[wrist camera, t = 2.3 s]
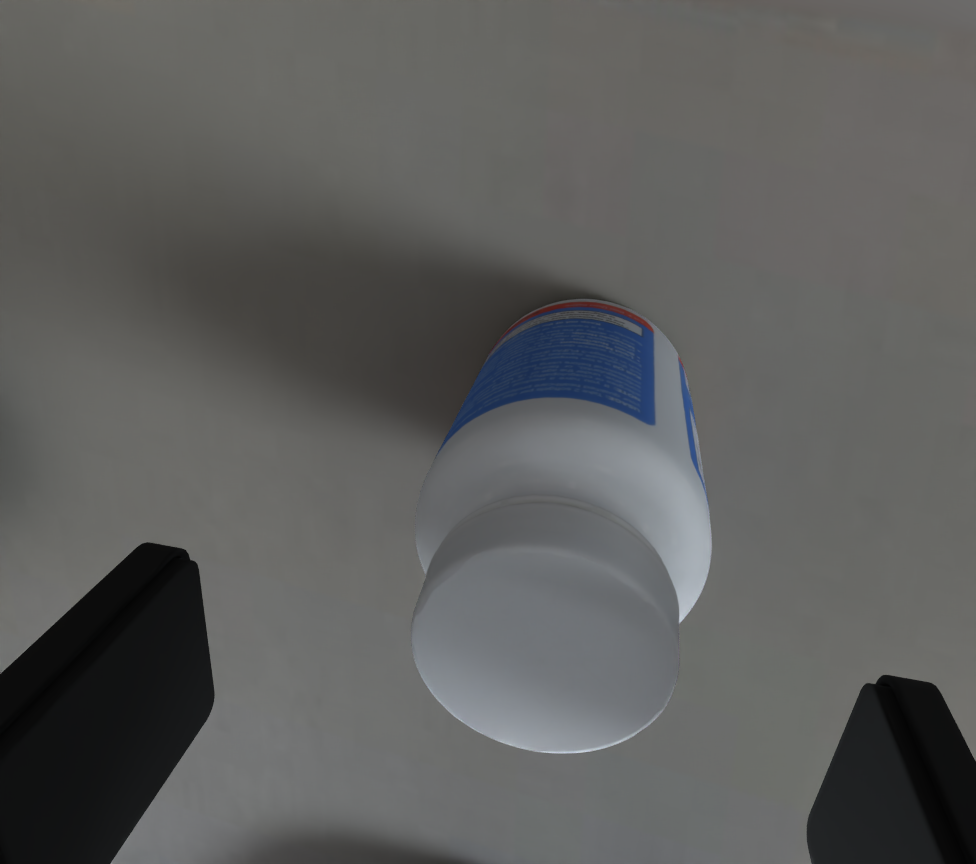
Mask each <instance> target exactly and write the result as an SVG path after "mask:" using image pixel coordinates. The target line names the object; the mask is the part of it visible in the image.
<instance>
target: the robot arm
mask: <svg viewBox="0 0 976 864" xmlns="http://www.w3.org/2000/svg"><path fill="white" fill-rule="evenodd" d="M213 703H214V685H213V677H212V669H211V661H210V653H209V646H208V638H207V630H206V622H205V614H204V607H203V599H202V591H201V583H200V575H199V568H198V565H197V563H196V562H195V561H192V560H190V558H189V554H188V553H187V551H186V550H184V549H182V548H177V547H171V546H165V545H160V544H154V543H149V542H147V543H142V544H141V545H140V546H138V547H137V548H136V549H135V550H134V551H132V552H131V553H130V554H129V555H128V556H127V557H126V558H125V559H124V560H123V561H122V562H121V563H120V564H118V565H117V566H116V567H115V568H114V569H113V570H112V571H111V572H110V573H109V574H108V575H107V576H106V577H104V578H103V579H102V580H101V581H100V582H99V583H98V584H97V585H96V586H95V587H94V588H93V589H92V590H90V591H89V592H88V593H87V594H86V595H85V596H84V597H83V598H82V599H81V600H80V601H79V602H78V603H76V604H75V605H74V606H73V607H72V608H71V609H70V610H69V611H68V612H67V613H66V614H65V615H64V616H62V617H61V618H60V619H59V620H58V621H57V622H56V623H55V624H54V625H53V626H52V627H51V628H50V629H48V630H47V631H46V632H45V633H44V634H43V635H42V636H41V637H40V638H39V639H38V640H37V641H36V642H34V643H33V644H32V645H31V646H30V647H29V648H28V649H27V650H26V651H25V652H24V653H23V654H22V655H20V656H19V657H18V658H17V659H16V660H15V661H14V662H13V663H12V664H11V665H10V666H9V667H8V668H6V669H5V670H4V671H3V672H2V673H1V674H0V864H110V863H111V861H112V860H113V859H114V857H115V856H116V854H117V853H118V851H119V850H120V848H121V847H122V845H123V844H124V842H125V841H126V839H127V838H128V836H129V835H130V833H131V832H132V830H133V829H134V827H135V826H136V824H137V823H138V821H139V820H140V818H141V817H142V815H143V814H144V812H145V811H146V809H147V808H148V807H149V805H150V804H151V802H152V801H153V799H154V798H155V796H156V795H157V793H158V792H159V790H160V789H161V787H162V786H163V784H164V783H165V781H166V780H167V778H168V777H169V775H170V774H171V772H172V771H173V769H174V768H175V766H176V765H177V763H178V762H179V760H180V759H181V757H182V756H183V755H184V753H185V752H186V750H187V749H188V747H189V746H190V744H191V743H192V741H193V740H194V738H195V737H196V735H197V734H198V732H199V731H200V729H201V728H202V726H203V725H204V723H205V722H206V720H207V718H208V717H209V715H210V712H211V710H212V707H213ZM807 844H808V849H809V854H810V858H811V862H812V864H976V761H975V760H974V758H973V756H972V754H971V752H970V750H969V748H968V746H967V744H966V742H965V740H964V738H963V736H962V734H961V732H960V730H959V728H958V726H957V724H956V722H955V720H954V718H953V716H952V714H951V712H950V710H949V708H948V706H947V704H946V702H945V700H944V698H943V696H942V694H941V693H940V691H939V690H938V688H937V687H936V686H935V685H934V684H932V683H929V682H924V681H918V680H913V679H907V678H901V677H896V676H890V675H883V676H881V677H880V678H879V679H878V681H877V682H876V684H870V683H866V684H865V685H864V686H863V687H862V689H861V691H860V693H859V696H858V698H857V701H856V703H855V706H854V708H853V710H852V713H851V715H850V718H849V720H848V722H847V725H846V727H845V730H844V732H843V734H842V737H841V739H840V742H839V744H838V747H837V749H836V751H835V754H834V756H833V759H832V761H831V763H830V766H829V768H828V771H827V773H826V775H825V778H824V780H823V783H822V785H821V788H820V790H819V792H818V795H817V797H816V800H815V802H814V804H813V807H812V809H811V812H810V814H809V817H808V822H807Z"/></svg>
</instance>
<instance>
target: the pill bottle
mask: <svg viewBox="0 0 976 864" xmlns="http://www.w3.org/2000/svg"><path fill="white" fill-rule="evenodd" d="M415 537H416V546H417V551H418V556H419V559H420V562H421V565H422V567H423V570H424V572H425V575H426V578H425V582H424V585H423V587H422V590H421V593H420V595H419V598H418V601H417V604H416V607H415V609H414V613H413V618H412V624H411V646H412V651H413V656H414V660H415V663H416V666H417V668H418V671H419V673H420V675H421V677H422V679H423V681H424V682H425V684H426V685H427V687H428V689H429V690H430V691H431V692H432V694H433V695H434V696H435V697H436V699H437V700H438V701H439V702H440V703H441V704H442V705H443V706H444V707H445V708H446V709H447V710H448V711H449V712H450V713H451V714H452V715H453V716H454V717H456V718H457V719H459V720H460V721H462V722H463V723H465V724H466V725H468V726H469V727H471V728H472V729H474V730H476V731H477V732H479V733H481V734H483V735H485V736H488V737H490V738H492V739H494V740H496V741H499V742H502V743H505V744H507V745H511V746H514V747H518V748H522V749H526V750H531V751H537V752H545V753H567V754H568V753H581V752H588V751H594V750H599V749H603V748H606V747H609V746H612V745H615V744H618V743H620V742H623V741H625V740H627V739H629V738H631V737H633V736H635V735H636V734H637V733H638V732H640V731H641V730H643V729H644V728H646V727H647V726H649V725H650V724H651V723H652V722H653V721H654V720H655V719H656V718H657V717H658V716H659V715H660V714H661V712H662V711H663V710H664V708H665V707H666V705H667V704H668V702H669V700H670V698H671V696H672V693H673V690H674V688H675V685H676V681H677V678H678V672H679V623H680V622H681V621H682V620H683V619H684V618H685V617H686V615H687V614H688V613H689V611H690V610H691V609H692V607H693V606H694V604H695V603H696V601H697V599H698V597H699V596H700V594H701V592H702V589H703V587H704V584H705V582H706V579H707V575H708V571H709V567H710V561H711V551H712V538H711V526H710V515H709V506H708V500H707V494H706V487H705V481H704V476H703V469H702V462H701V455H700V449H699V442H698V435H697V430H696V424H695V417H694V411H693V404H692V398H691V393H690V388H689V384H688V379H687V375H686V372H685V369H684V367H683V364H682V362H681V359H680V357H679V355H678V353H677V351H676V350H675V348H674V347H673V345H672V344H671V342H670V341H669V340H668V338H667V337H666V336H665V335H664V334H663V333H662V331H661V330H660V329H659V328H658V327H656V326H655V325H654V324H653V323H652V322H651V321H649V320H648V319H646V318H645V317H643V316H642V315H640V314H639V313H637V312H635V311H633V310H631V309H629V308H627V307H624V306H621V305H618V304H615V303H612V302H608V301H602V300H596V299H572V300H565V301H559V302H555V303H552V304H548V305H546V306H543V307H541V308H538V309H536V310H534V311H532V312H530V313H528V314H527V315H525V316H523V317H522V318H520V319H519V320H518V321H516V322H515V323H514V324H513V325H512V326H511V327H510V328H509V329H507V330H506V332H505V333H504V334H503V335H502V336H501V337H500V339H499V340H498V341H497V343H496V344H495V345H494V347H493V348H492V350H491V351H490V353H489V355H488V357H487V359H486V361H485V363H484V365H483V367H482V369H481V371H480V372H479V374H478V376H477V378H476V380H475V382H474V384H473V386H472V388H471V390H470V392H469V394H468V396H467V397H466V399H465V401H464V403H463V405H462V407H461V409H460V411H459V413H458V415H457V417H456V419H455V421H454V423H453V425H452V427H451V429H450V431H449V433H448V434H447V436H446V438H445V440H444V442H443V444H442V446H441V448H440V449H439V451H438V453H437V455H436V457H435V459H434V461H433V463H432V465H431V468H430V470H429V472H428V474H427V476H426V478H425V481H424V483H423V486H422V488H421V491H420V495H419V499H418V503H417V508H416V515H415Z"/></svg>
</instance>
